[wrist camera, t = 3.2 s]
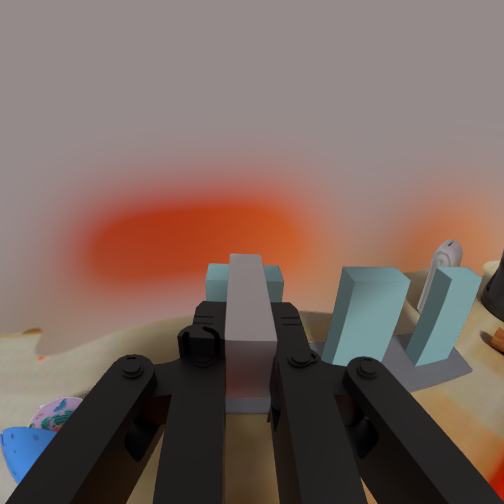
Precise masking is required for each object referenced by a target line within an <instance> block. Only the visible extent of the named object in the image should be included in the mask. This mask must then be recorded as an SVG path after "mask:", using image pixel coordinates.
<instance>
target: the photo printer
mask: <svg viewBox="0 0 504 504" xmlns="http://www.w3.org/2000/svg"><path fill="white" fill-rule="evenodd" d="M462 254H463V251H462V247H461V245H460V244H459V243H458V242H455V241H454V240H448V241H445V242H444V243H442V244H441V245H440V246H439V247H438V249H437V250H436V251H435V253H434V255H433V258H432V261H431V265H430V268H429V272H428V275H427V279H426V282H425V285H424V288H423V291H422V294H421V297H420V300H419V303H418V306H417V310H418V312H419V313H420V314H421V313H422V310H423V307H424V304H425V302H426V299H427V296H428V293H429V290H430V287H431V284H432V281H433V277H434V274H435V271H436V267H459V266H460V262H461V258H462Z"/></svg>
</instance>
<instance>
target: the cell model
mask: <svg viewBox="0 0 504 504" xmlns="http://www.w3.org/2000/svg"><path fill="white" fill-rule="evenodd" d="M82 401H83V399H82V398H78V397H70V396H68V397H61V398H57V399H54V400H52V401H50V402H48V403H46V404H44V405H43V404H41V405H40V406H39V407H40V408H39V410H38V411H37V412H36V413H35V415H34V416H33V417H32V419H31V420H30V422H29V424H28V425H27V427H12V428H8V429H5V430H3V434H0V445H1V450H2V453H3V457H4V460H5V462H6V465H7V467H8V470H9V472H10V474H11V475H12V477H13V479H14V480H15V482H16V483H17V485H19V483H20V482H21V480H22V479H23V478H24V476H25V475H26V473H27V472H28V471H29V469H30V468H31V467H32V465H33V464H34V462H35V461H36V460H37V458H38V457H39V456H40V454H41V453H42V452H43V450H44V449H45V448H46V446H47V445H48V444H49V443H50V441H51V440H52V439H53V437H54V436H55V435H56V433H57V432H58V431H59V430H60V428H61V427H62V426H63V425H64V423H65V422H66V421H67V419H68V418H69V417H70V416H71V414H72V413H73V412H74V411H75V409H76V408H77V407H78V406H79V404H80V403H81V402H82Z"/></svg>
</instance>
